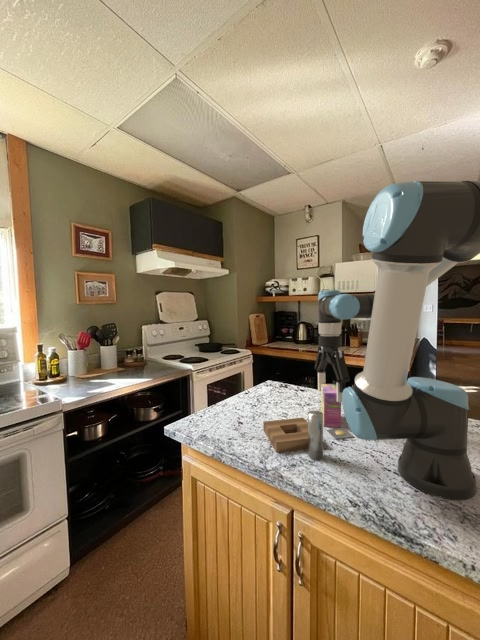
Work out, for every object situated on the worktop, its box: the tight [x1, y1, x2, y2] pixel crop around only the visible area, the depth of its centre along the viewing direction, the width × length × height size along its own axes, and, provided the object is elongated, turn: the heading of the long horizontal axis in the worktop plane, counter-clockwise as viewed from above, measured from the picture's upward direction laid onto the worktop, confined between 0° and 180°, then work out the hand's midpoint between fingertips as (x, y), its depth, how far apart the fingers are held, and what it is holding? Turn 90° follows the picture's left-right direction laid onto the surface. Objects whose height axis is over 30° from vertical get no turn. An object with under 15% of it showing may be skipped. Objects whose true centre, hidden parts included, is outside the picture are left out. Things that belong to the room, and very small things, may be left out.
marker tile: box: [326, 427, 355, 441], centre depth 89 cm, size 6×6×1 cm
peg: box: [307, 410, 324, 461], centre depth 77 cm, size 4×4×12 cm
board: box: [262, 417, 308, 453], centre depth 87 cm, size 14×14×3 cm
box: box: [320, 383, 342, 429], centre depth 99 cm, size 10×6×12 cm, turn 169°
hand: (330, 395), depth 98 cm, fingers open, 13 cm apart
